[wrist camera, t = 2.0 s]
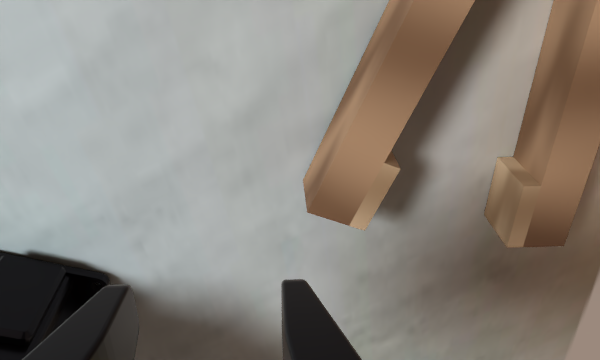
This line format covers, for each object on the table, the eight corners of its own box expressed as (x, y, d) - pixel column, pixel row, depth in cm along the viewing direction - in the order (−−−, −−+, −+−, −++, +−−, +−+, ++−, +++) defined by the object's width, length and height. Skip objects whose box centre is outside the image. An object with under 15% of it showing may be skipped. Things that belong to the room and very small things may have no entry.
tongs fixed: (535, 213, 23) (570, 253, 20) (437, 215, 23) (459, 256, 20) (687, -286, 14) (780, -327, 12) (531, -293, 14) (591, -336, 11)
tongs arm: (386, 208, 22) (407, 262, 19) (303, 180, 21) (310, 232, 18) (648, -235, 15) (757, -273, 11) (538, -310, 14) (624, -376, 10)
